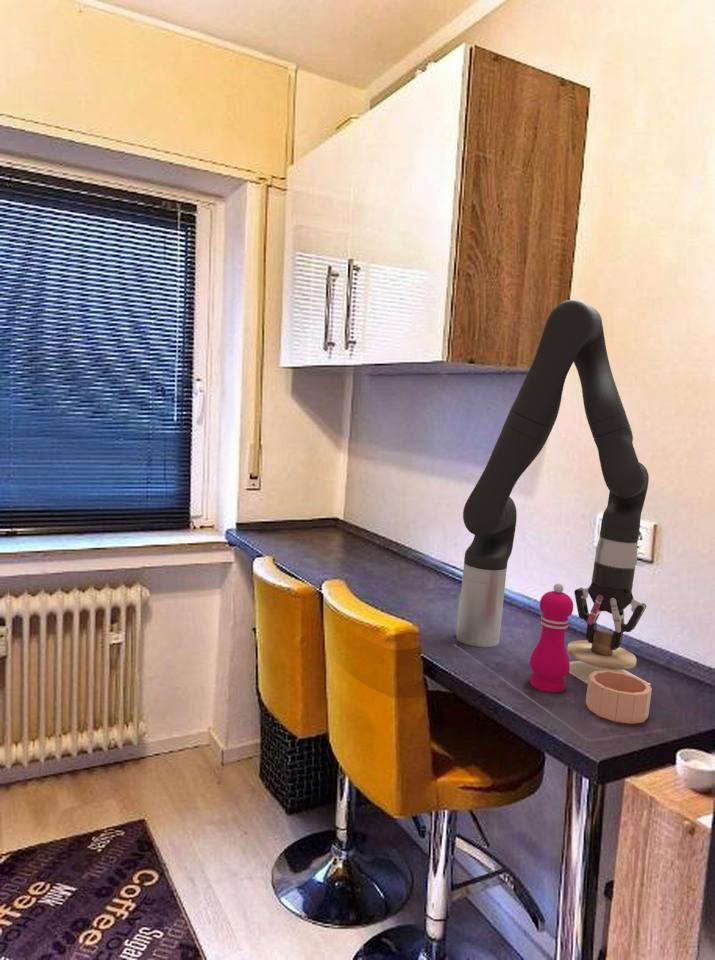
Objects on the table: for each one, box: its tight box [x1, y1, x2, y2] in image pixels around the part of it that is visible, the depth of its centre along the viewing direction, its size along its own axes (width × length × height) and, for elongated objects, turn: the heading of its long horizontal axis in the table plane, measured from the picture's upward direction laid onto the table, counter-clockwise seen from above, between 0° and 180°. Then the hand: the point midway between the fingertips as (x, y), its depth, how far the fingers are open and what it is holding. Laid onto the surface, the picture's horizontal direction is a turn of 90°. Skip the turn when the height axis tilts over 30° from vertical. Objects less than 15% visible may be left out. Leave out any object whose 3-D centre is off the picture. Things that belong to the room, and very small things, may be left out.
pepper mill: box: [529, 583, 574, 693], centre depth 127 cm, size 7×7×20 cm
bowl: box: [585, 670, 653, 725], centre depth 120 cm, size 10×10×6 cm
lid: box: [566, 628, 638, 670], centre depth 136 cm, size 13×13×5 cm
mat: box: [568, 660, 652, 686], centre depth 136 cm, size 13×13×1 cm
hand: (602, 645), depth 136 cm, fingers closed on lid, 4 cm apart
